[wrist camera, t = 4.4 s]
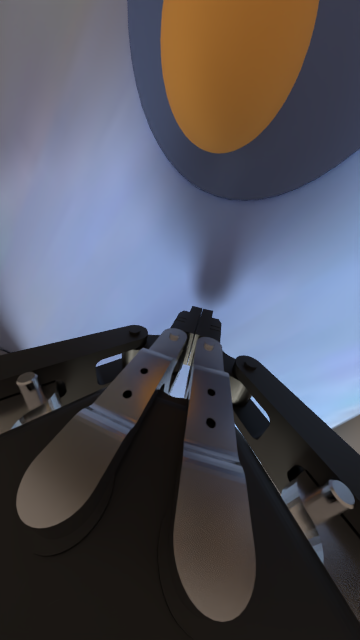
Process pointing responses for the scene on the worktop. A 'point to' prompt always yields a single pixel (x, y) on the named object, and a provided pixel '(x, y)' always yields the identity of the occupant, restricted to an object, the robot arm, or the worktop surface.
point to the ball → (232, 65)
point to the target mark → (287, 126)
